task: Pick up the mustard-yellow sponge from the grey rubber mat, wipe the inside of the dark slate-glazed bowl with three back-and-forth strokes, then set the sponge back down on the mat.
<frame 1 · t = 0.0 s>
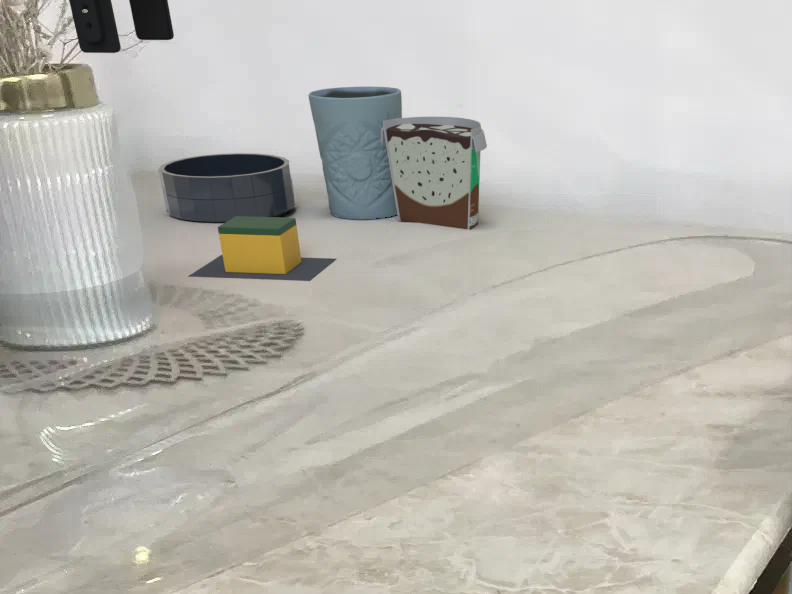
hand: (129, 45, 93), 19 cm above the table, tool pointing down, fingers open, 9 cm apart
blue embossed cup: (367, 212, 130), on the table
sponge: (264, 267, 109), resting on mat
food container: (450, 225, 125), on the table
bowl: (232, 213, 130), on the table
mat: (264, 272, 109), on the table
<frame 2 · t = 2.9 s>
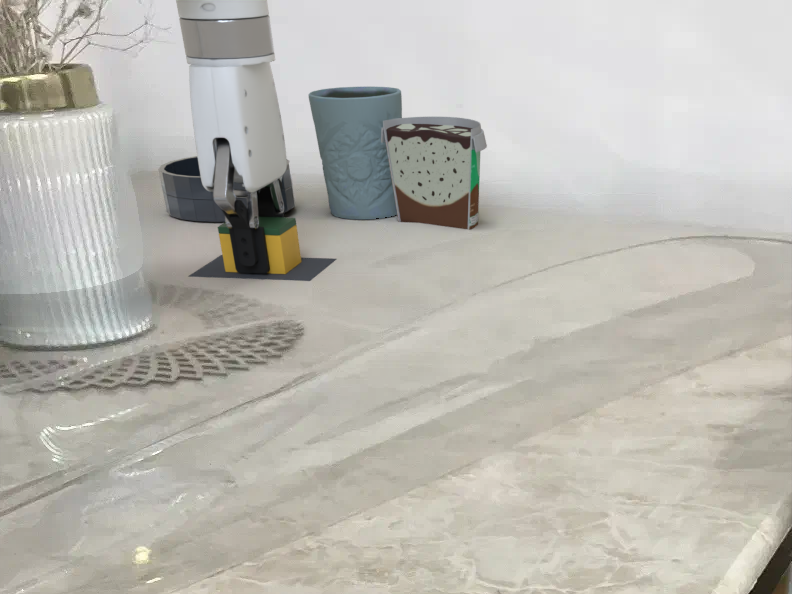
hand: (263, 263, 109), 1 cm above the table, tool pointing down, fingers closed on sponge, 4 cm apart
sponge: (264, 267, 109), point 1 cm above the table, touching gripper, mat
everything else where it was.
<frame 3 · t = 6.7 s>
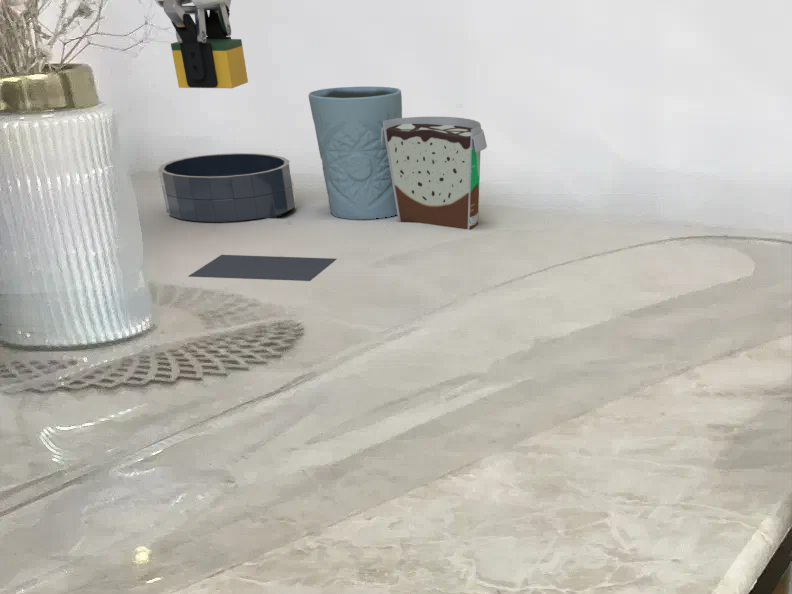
hand: (212, 81, 121), 13 cm above the table, tool pointing down, fingers closed on sponge, 4 cm apart
sponge: (213, 85, 121), point 13 cm above the table, touching gripper
everything else where it was.
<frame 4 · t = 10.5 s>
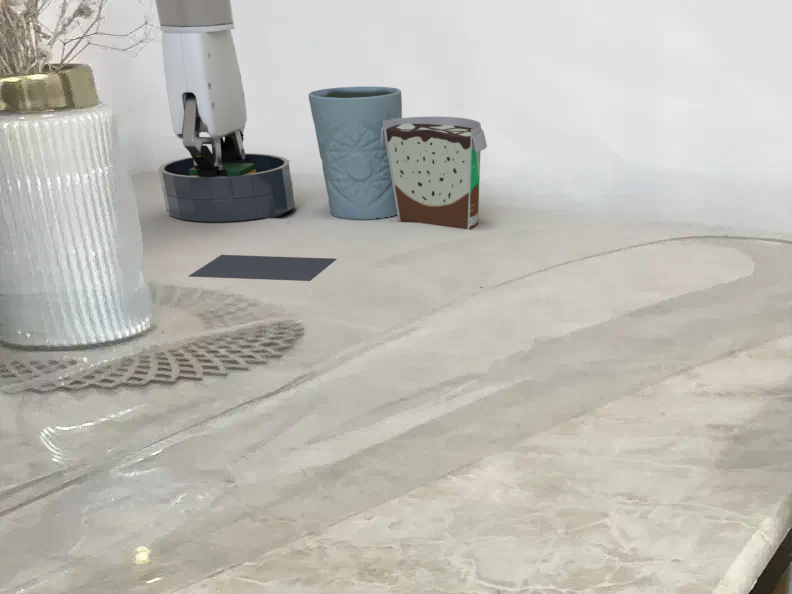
hand: (227, 201, 129), 1 cm above the table, tool pointing down, fingers closed on sponge, 4 cm apart
sponge: (228, 205, 129), point 1 cm above the table, touching gripper
everything else where it was.
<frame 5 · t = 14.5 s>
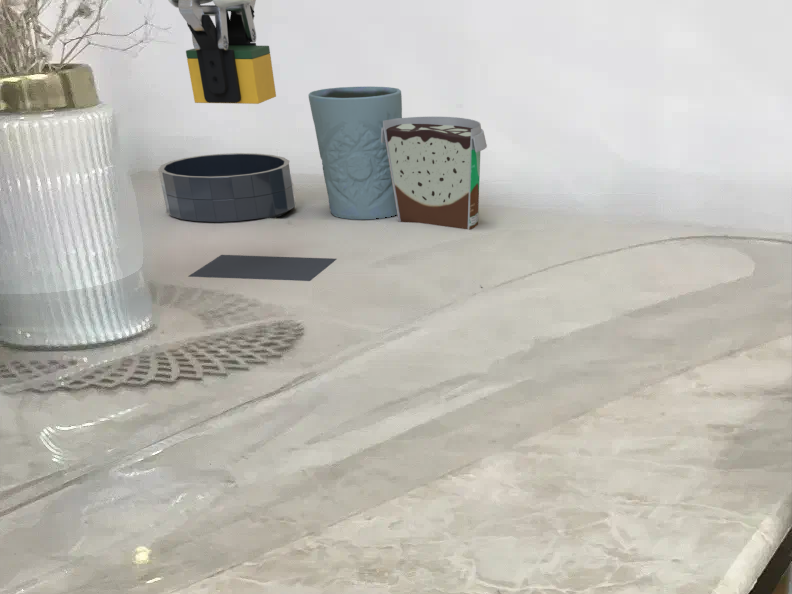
hand: (234, 95, 102), 15 cm above the table, tool pointing down, fingers closed on sponge, 4 cm apart
sponge: (236, 99, 103), point 14 cm above the table, touching gripper
everything else where it was.
when the fingers open (1 cm above the table, at t = 18.0 s): sponge stays where it is, resting on mat.
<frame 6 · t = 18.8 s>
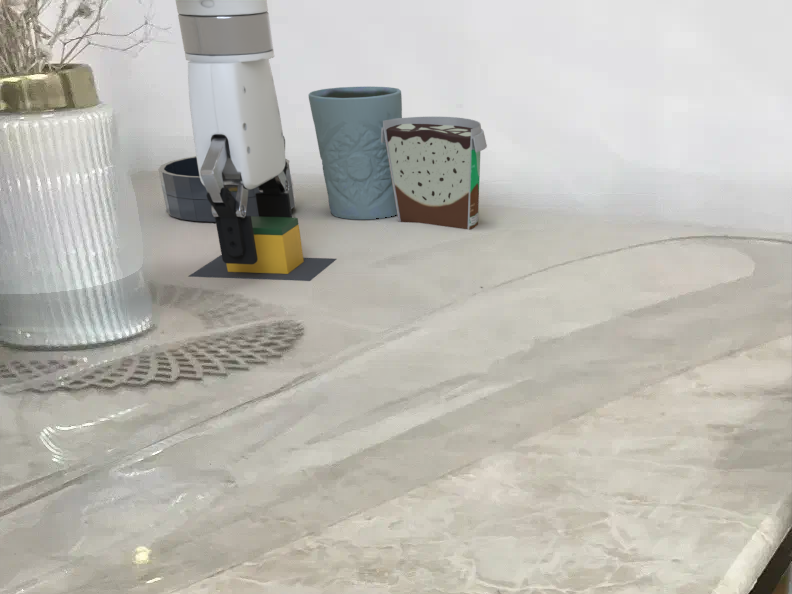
hand: (260, 249, 108), 2 cm above the table, tool pointing down, fingers open, 9 cm apart
sponge: (266, 266, 109), resting on mat
everything else where it was.
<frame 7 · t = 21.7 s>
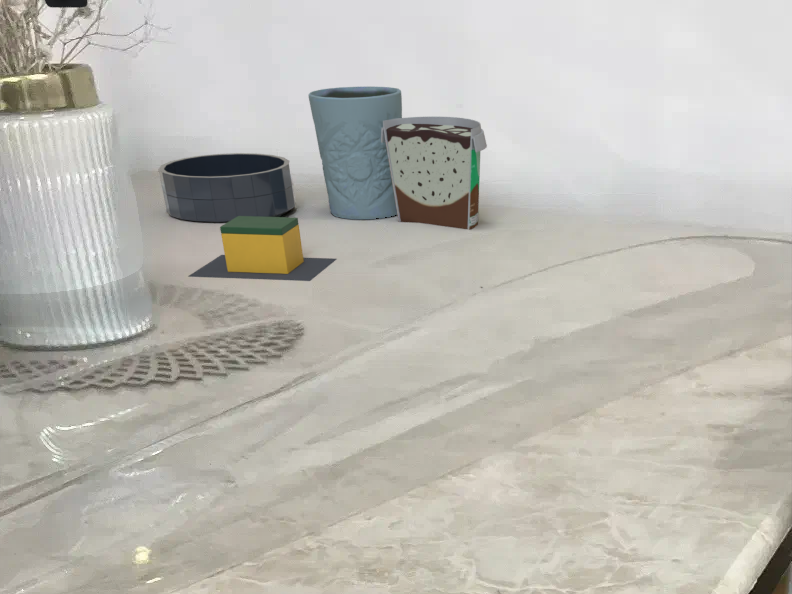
hand: (98, 2, 90), 22 cm above the table, tool pointing down, fingers open, 9 cm apart
nothing on the table moved.
at the end: sponge 0.2 cm off-centre on the mat, point 0.5 cm above the mat's base; sponge touching mat; sponge tilted 0° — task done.
